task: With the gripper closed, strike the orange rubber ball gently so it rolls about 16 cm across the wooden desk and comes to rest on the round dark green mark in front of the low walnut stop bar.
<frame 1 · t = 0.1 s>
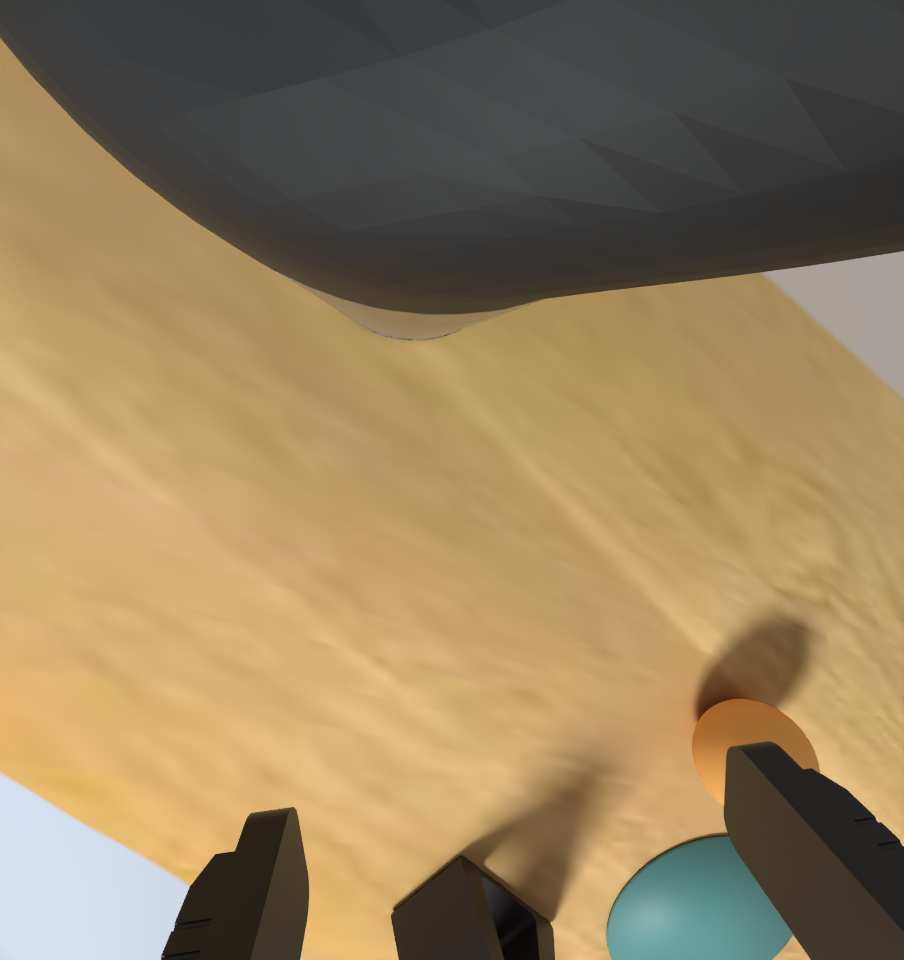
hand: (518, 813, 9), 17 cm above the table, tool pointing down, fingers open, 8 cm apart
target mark: (705, 917, 35), on the table
ball: (752, 758, 28), on the table
phone stand: (472, 913, 33), on the table
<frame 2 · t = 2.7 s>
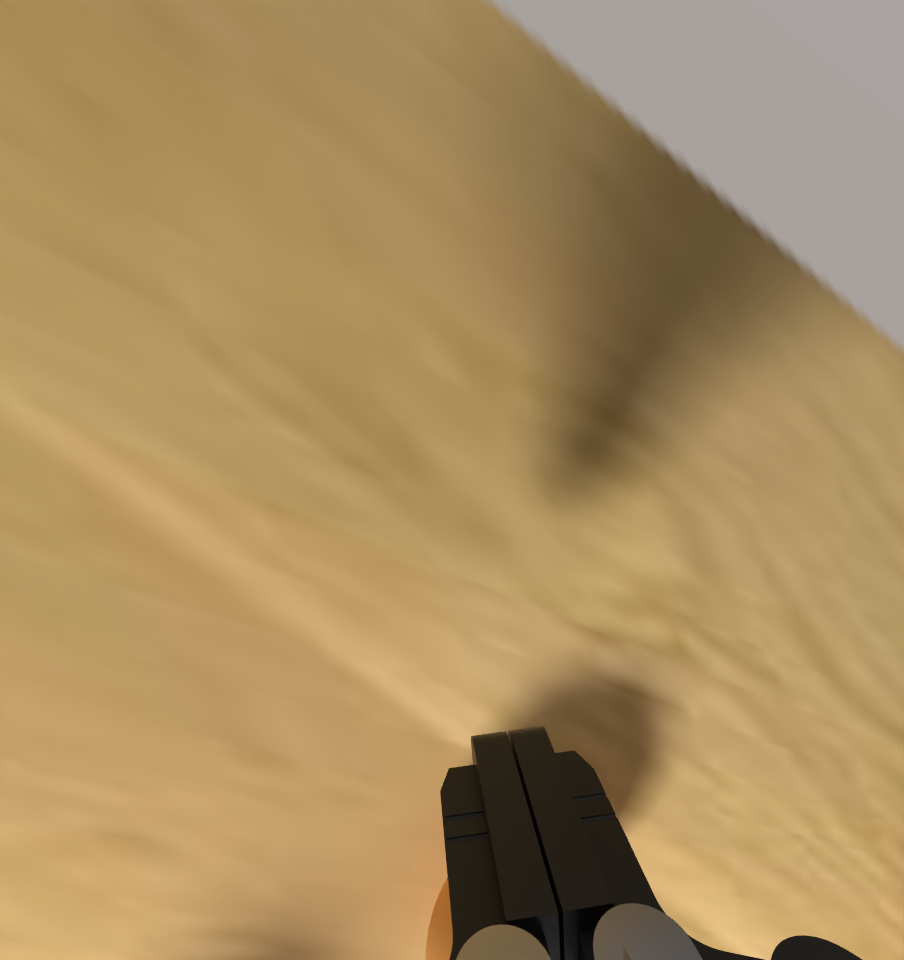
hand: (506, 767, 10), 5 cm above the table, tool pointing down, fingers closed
ball: (531, 958, 14), on the table
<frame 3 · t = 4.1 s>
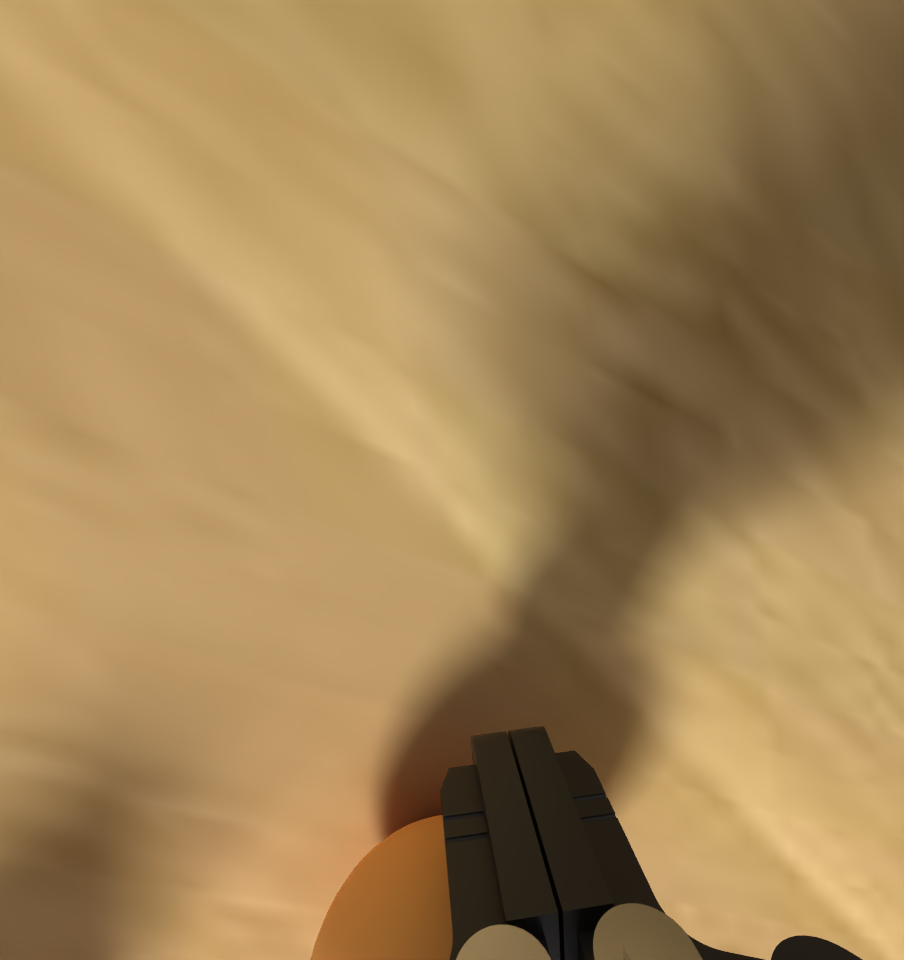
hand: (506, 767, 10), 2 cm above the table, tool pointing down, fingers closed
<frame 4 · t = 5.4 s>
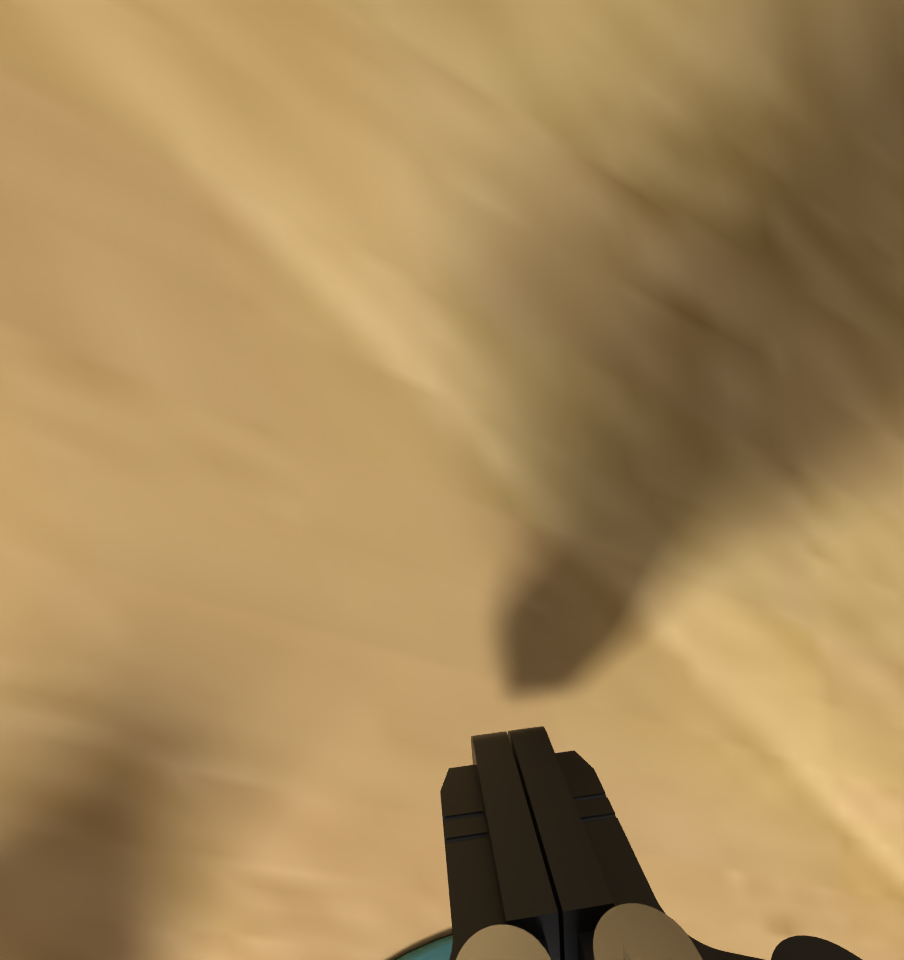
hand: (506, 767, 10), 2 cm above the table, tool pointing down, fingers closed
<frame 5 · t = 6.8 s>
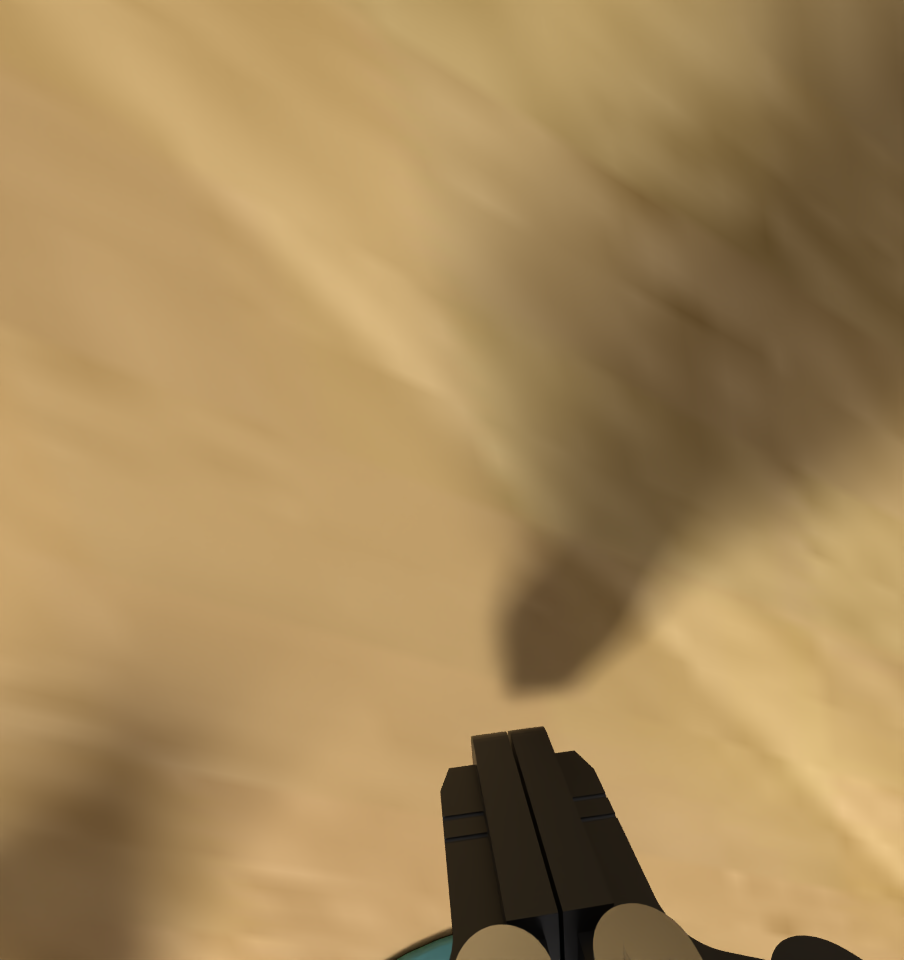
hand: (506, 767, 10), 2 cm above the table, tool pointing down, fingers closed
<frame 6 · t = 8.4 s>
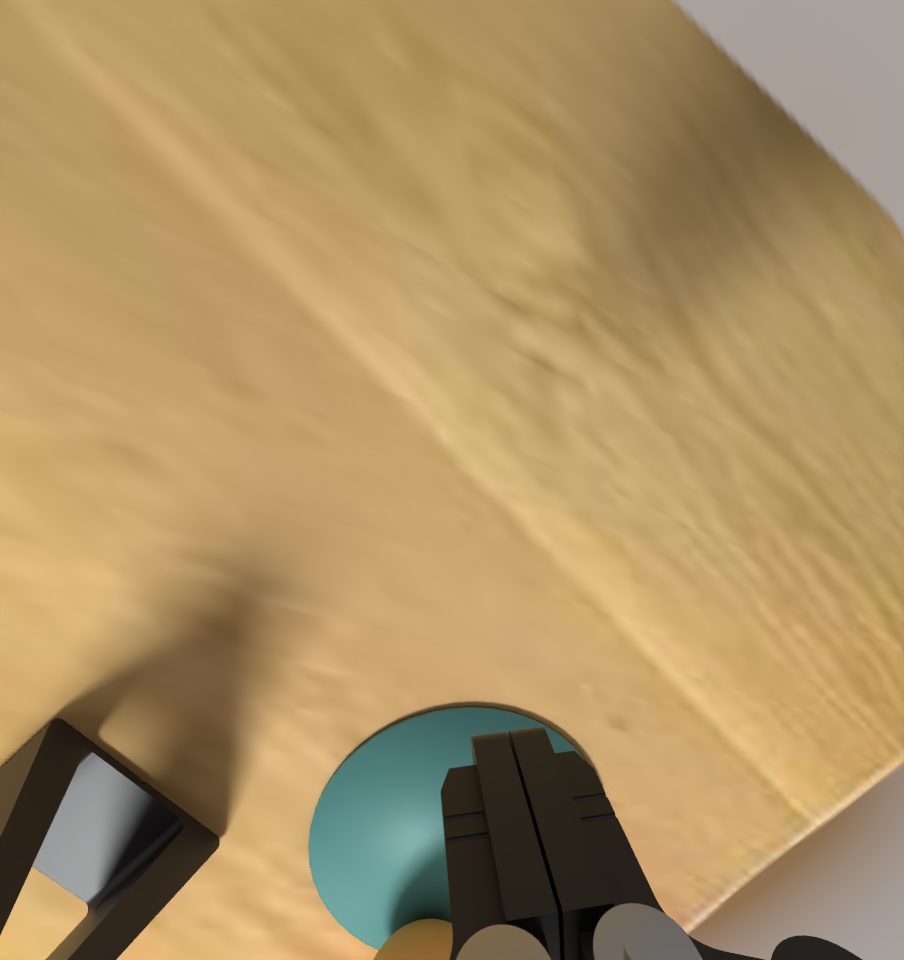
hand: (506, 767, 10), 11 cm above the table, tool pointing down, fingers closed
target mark: (460, 839, 24), on the table
phone stand: (98, 819, 22), on the table
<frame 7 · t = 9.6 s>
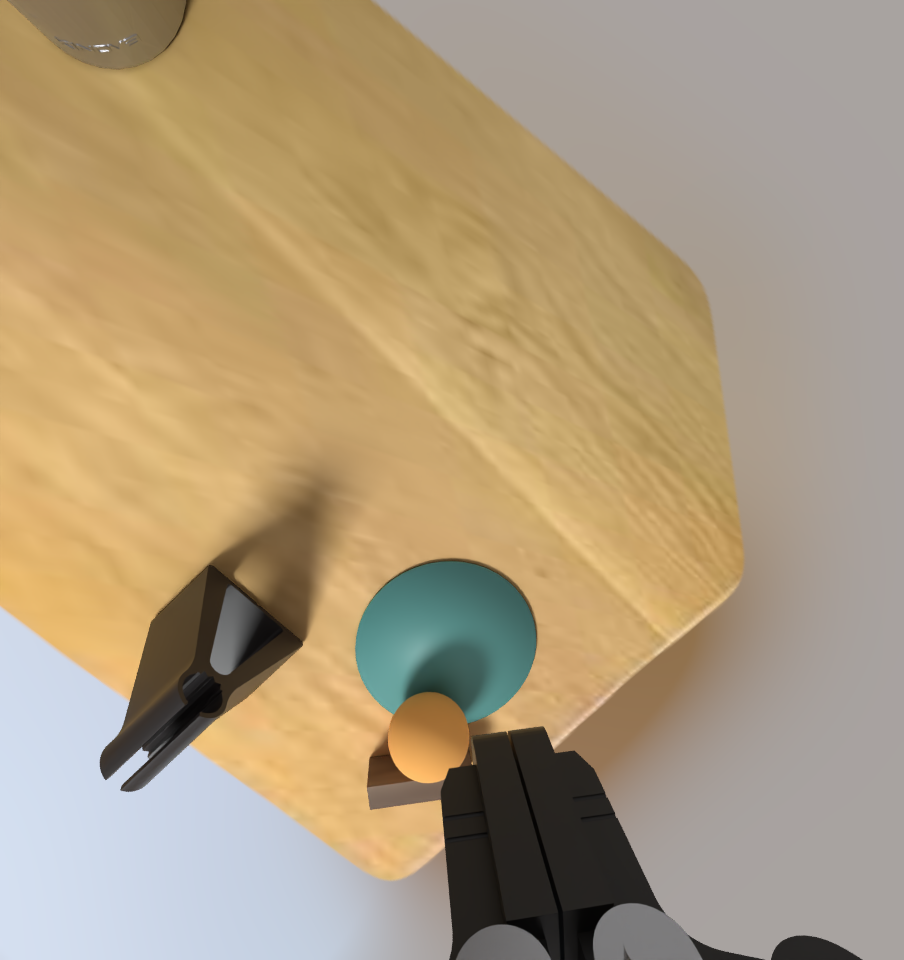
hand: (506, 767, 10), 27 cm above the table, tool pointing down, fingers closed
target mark: (447, 646, 39), on the table
stop bar: (420, 761, 41), on the table
ball: (428, 735, 38), on the table
phone stand: (231, 629, 38), on the table
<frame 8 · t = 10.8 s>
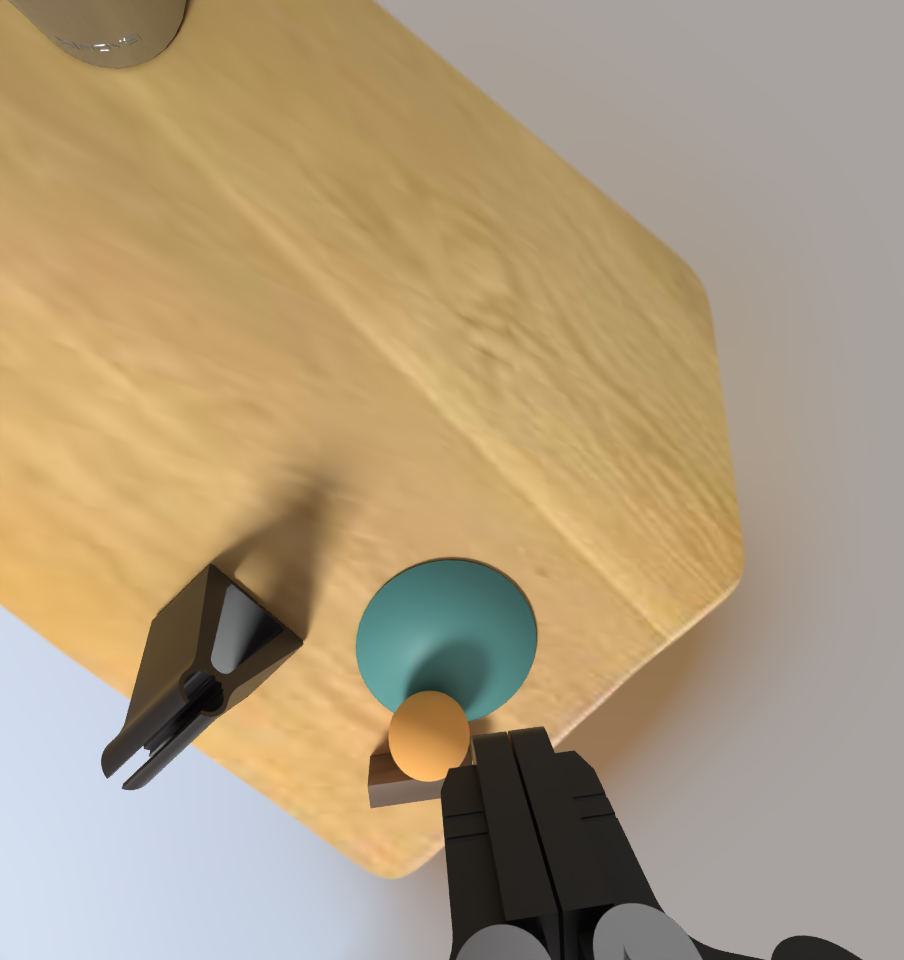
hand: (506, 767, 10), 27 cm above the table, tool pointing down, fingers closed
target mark: (447, 645, 39), on the table
stop bar: (420, 760, 41), on the table
ball: (429, 734, 38), on the table
phone stand: (232, 628, 38), on the table
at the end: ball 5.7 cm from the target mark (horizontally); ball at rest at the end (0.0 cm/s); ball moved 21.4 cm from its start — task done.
